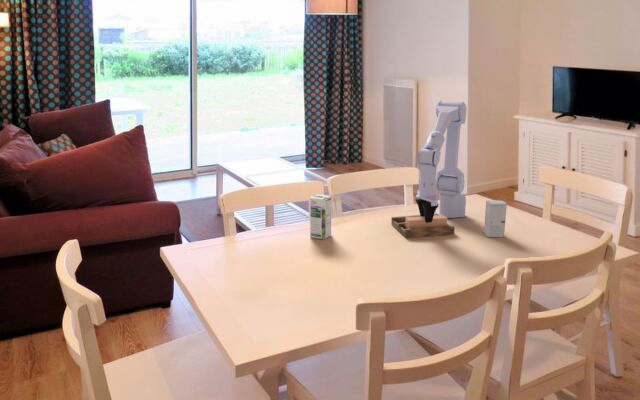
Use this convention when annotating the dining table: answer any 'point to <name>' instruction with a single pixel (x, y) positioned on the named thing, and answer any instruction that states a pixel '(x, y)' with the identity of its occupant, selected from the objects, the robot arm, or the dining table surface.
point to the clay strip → (420, 222)
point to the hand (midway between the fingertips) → (426, 220)
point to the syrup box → (320, 216)
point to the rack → (420, 232)
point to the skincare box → (495, 218)
